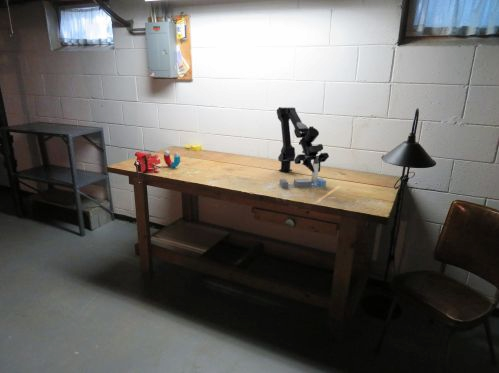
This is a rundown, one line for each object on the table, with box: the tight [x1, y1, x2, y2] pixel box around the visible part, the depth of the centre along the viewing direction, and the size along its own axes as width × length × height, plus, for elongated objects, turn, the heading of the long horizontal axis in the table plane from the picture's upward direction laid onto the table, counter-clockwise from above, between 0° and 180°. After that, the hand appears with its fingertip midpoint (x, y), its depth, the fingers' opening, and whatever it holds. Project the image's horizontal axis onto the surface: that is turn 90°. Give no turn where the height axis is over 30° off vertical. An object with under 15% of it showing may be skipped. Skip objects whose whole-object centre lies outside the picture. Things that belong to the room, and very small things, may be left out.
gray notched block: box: [278, 177, 327, 189], centre depth 191 cm, size 6×24×4 cm, turn 100°
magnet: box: [163, 149, 181, 168], centre depth 222 cm, size 12×3×10 cm, turn 57°
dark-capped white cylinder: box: [310, 159, 319, 184], centre depth 190 cm, size 3×3×13 cm
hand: (316, 171), depth 189 cm, fingers closed on dark-capped white cylinder, 3 cm apart
